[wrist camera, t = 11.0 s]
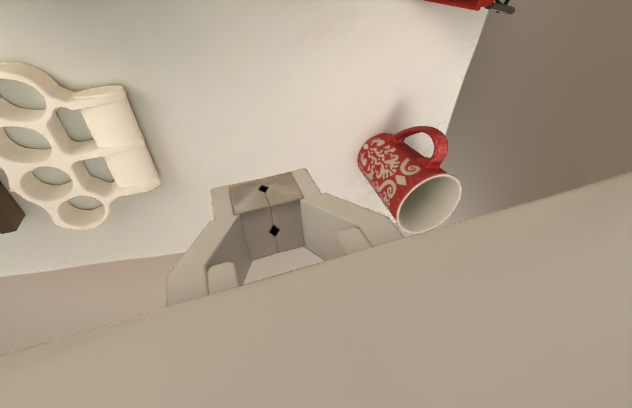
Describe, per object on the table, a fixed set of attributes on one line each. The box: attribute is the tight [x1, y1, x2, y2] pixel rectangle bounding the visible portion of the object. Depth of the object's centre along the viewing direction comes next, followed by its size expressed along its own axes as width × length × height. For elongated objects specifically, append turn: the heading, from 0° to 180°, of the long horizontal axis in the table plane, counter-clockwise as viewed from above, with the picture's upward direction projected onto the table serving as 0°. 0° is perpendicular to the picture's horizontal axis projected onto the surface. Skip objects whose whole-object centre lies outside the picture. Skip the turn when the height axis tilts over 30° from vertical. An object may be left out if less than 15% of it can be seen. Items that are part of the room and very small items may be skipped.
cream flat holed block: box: [0, 62, 161, 230], centre depth 35 cm, size 3×18×15 cm
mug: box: [358, 126, 462, 234], centre depth 45 cm, size 13×9×14 cm
